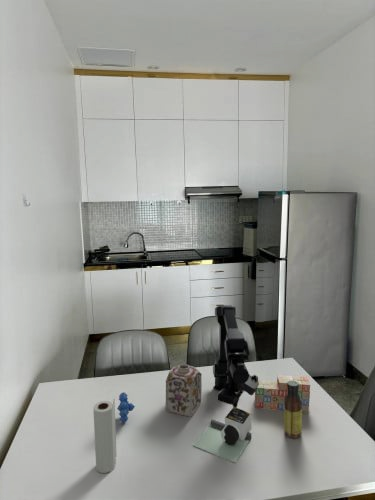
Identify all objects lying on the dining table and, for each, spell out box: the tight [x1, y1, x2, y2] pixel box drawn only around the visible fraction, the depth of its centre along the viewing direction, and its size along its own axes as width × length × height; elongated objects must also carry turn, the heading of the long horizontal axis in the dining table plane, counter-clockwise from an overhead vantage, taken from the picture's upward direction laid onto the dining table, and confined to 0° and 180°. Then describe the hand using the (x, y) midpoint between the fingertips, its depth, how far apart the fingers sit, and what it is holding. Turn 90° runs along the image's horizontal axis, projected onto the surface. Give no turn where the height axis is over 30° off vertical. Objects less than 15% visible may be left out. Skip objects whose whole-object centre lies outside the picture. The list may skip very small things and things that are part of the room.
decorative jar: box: [165, 363, 203, 418], centre depth 148 cm, size 12×12×18 cm
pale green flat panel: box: [192, 426, 250, 464], centre depth 127 cm, size 16×12×1 cm
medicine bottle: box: [220, 406, 252, 445], centre depth 130 cm, size 7×7×12 cm
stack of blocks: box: [254, 375, 311, 414], centre depth 149 cm, size 21×6×12 cm, turn 82°
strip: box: [210, 419, 252, 441], centre depth 134 cm, size 16×1×2 cm, turn 59°
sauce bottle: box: [283, 381, 303, 439], centre depth 131 cm, size 6×6×20 cm
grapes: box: [117, 392, 136, 424], centre depth 139 cm, size 12×7×12 cm, turn 10°
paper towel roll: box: [93, 399, 117, 474], centre depth 115 cm, size 7×6×21 cm
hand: (235, 407), depth 136 cm, fingers closed
